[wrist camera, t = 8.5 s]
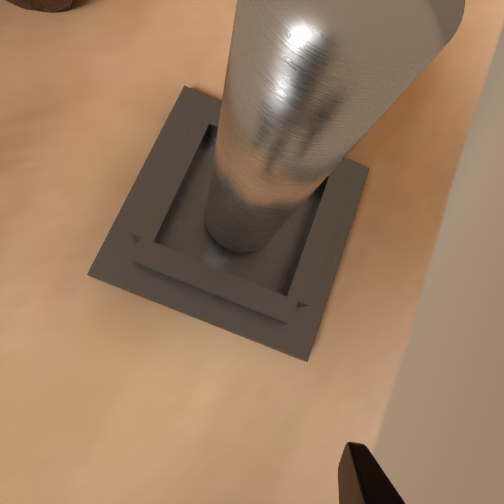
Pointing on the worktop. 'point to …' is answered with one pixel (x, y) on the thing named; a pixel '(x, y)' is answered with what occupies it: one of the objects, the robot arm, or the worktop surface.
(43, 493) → the worktop surface
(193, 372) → the worktop surface
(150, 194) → the block
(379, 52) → the shiny tapered metal piece
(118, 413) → the worktop surface
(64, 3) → the bolt
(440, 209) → the worktop surface
